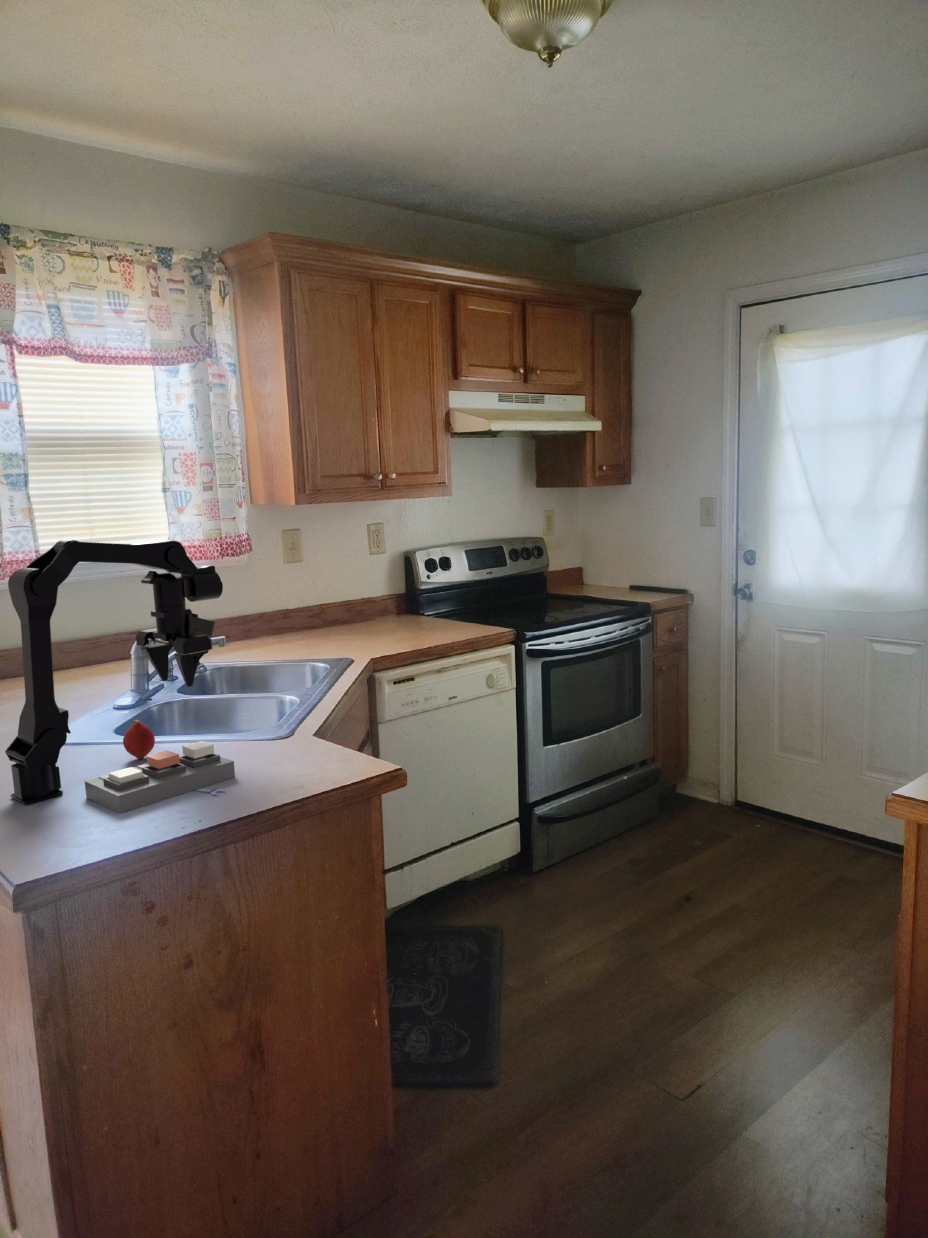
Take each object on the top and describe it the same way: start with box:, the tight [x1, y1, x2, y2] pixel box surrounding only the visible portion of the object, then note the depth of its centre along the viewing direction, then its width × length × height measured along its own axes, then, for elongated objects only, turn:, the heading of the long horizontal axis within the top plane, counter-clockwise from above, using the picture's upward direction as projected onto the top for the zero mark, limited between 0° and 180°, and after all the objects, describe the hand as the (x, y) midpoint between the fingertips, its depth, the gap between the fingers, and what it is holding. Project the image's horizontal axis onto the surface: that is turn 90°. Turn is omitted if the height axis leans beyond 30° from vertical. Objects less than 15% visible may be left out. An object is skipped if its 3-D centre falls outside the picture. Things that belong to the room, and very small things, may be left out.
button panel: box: [84, 752, 236, 814], centre depth 153 cm, size 22×12×4 cm, turn 138°
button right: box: [181, 740, 215, 758], centre depth 157 cm, size 4×4×2 cm
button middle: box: [145, 750, 180, 769], centre depth 152 cm, size 4×4×2 cm
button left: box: [108, 766, 143, 784], centre depth 147 cm, size 4×4×2 cm
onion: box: [122, 719, 156, 760], centre depth 169 cm, size 6×6×8 cm
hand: (177, 683), depth 169 cm, fingers open, 9 cm apart
